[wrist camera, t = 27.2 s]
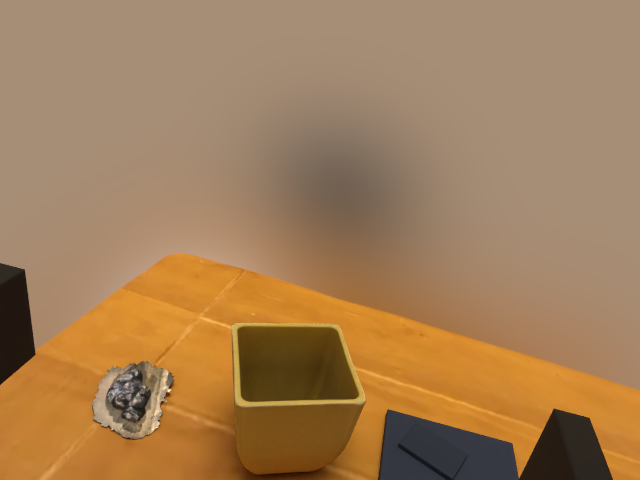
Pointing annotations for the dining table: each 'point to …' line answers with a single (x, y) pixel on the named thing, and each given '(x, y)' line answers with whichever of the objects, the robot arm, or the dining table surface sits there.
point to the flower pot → (292, 395)
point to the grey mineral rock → (132, 399)
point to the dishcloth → (441, 452)
